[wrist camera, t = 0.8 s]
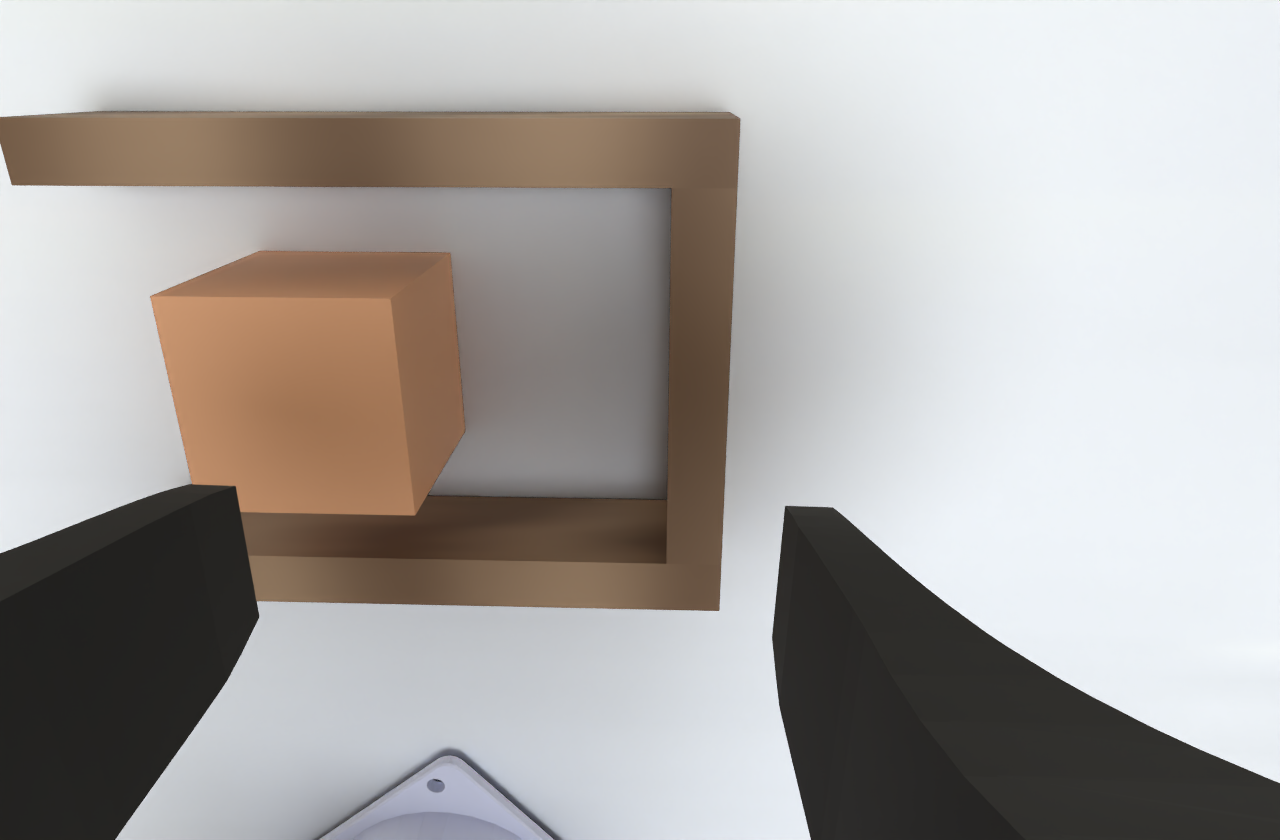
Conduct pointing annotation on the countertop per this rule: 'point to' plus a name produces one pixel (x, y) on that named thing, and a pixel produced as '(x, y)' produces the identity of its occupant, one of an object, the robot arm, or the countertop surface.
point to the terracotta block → (317, 378)
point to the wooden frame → (473, 157)
